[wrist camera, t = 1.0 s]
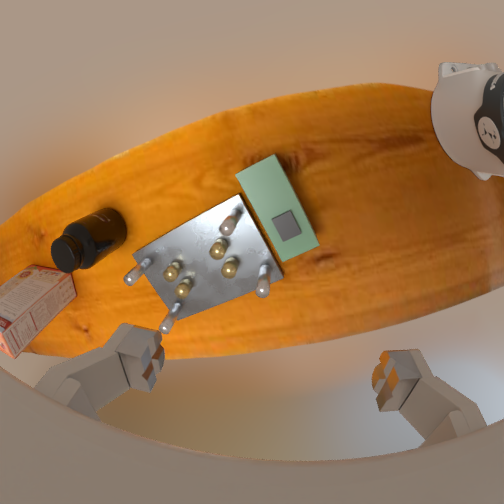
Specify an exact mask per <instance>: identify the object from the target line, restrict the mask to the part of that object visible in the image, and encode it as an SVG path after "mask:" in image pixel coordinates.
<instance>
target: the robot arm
mask: <svg viewBox="0 0 504 504" xmlns="http://www.w3.org/2000/svg"><path fill="white" fill-rule="evenodd" d="M451 69H452V70H453V71H452V70H451ZM438 72H439V80H438V83H437V86H436V88H435V90H434V92H433V96H432V101H431V115H432V122H433V126H434V130H435V133H436V135H437V138H438V140H439V142H440V144H441V146H442V147H443V149H444V150H445V152H446V153H447V154H448V156H449V157H450V158H451V159H452V160H453V161H455V162H456V163H457V164H459V165H461V166H463V167H466V168H468V169H470V170H472V172H473V173H474V174H475V175H476V176H477V177H478V178H479V179H480V180H487V179H489V178H490V177H491V176H492V175H496V176H502V177H504V73H503V72H502V71H501V70H500V69H499V68H498V66H497V64H496V63H487V64H485V65H484V64H481V65H475V64H466V63H451V62H444V63H441V64H440V65H439V71H438ZM161 341H162V335H161V332H160V331H158V330H154V329H149V328H145V327H141V326H136V325H131V324H127V323H122V324H121V325H120V326H119V327H118V329H117V330H116V331H115V332H114V334H113V335H112V336H111V338H110V339H109V340H108V341H107V343H106V344H105V345H104V347H103V348H100V347H98V348H96V349H94V350H91V351H89V352H87V353H84V354H82V355H80V356H77V357H75V358H72V359H70V360H68V361H65V362H63V363H60V364H58V365H56V366H53V367H51V368H50V369H49V370H48V371H47V372H46V374H45V375H44V376H43V377H42V379H41V380H40V381H39V382H38V384H37V385H36V386H35V388H32V387H31V386H29V385H27V384H26V383H24V382H23V381H21V380H19V379H18V378H16V377H15V376H13V375H12V374H10V373H9V372H7V371H6V370H5V369H3V368H2V367H0V504H504V419H502V420H500V421H498V422H495V423H493V424H491V425H488V426H487V425H486V422H485V420H484V418H483V416H482V414H481V412H480V410H479V408H478V406H477V404H476V403H474V402H473V401H471V400H470V399H469V398H467V397H466V396H464V395H463V394H461V393H460V392H458V391H457V390H456V389H454V388H453V387H451V386H450V385H448V384H447V383H446V382H444V381H443V380H441V379H440V378H438V377H437V376H436V377H434V376H433V374H432V372H431V370H430V368H429V366H428V365H427V363H426V361H425V359H424V357H423V355H422V354H421V351H420V350H418V349H410V350H393V351H384V352H383V353H382V354H381V356H380V358H379V359H380V362H381V363H380V364H379V365H377V366H376V367H375V369H374V371H373V374H372V387H373V390H374V391H375V392H376V393H378V396H377V398H376V401H377V404H378V408H379V411H380V412H386V411H398V410H399V412H400V413H401V414H402V415H403V417H404V418H405V419H406V420H407V421H408V422H409V423H410V424H411V425H412V426H413V427H414V428H415V429H416V430H417V431H418V432H419V434H420V435H421V436H422V437H423V438H424V439H425V441H424V442H423V443H422V444H421V445H420V446H419V447H418V448H416V449H411V450H407V451H402V452H397V453H391V454H385V455H379V456H372V457H364V458H354V459H342V460H327V461H326V460H325V461H282V460H280V461H279V460H264V459H252V458H242V457H234V456H226V455H220V454H213V453H208V452H202V451H197V450H192V449H188V448H183V447H179V446H175V445H171V444H167V443H163V442H159V441H156V440H152V439H149V438H145V437H142V436H139V435H136V434H133V433H130V432H127V431H124V430H121V429H118V428H116V427H113V426H110V425H108V424H105V423H103V422H101V420H100V418H99V417H98V415H97V413H96V411H97V410H99V409H100V408H102V407H103V406H105V405H106V404H108V403H109V402H111V401H112V400H114V399H115V398H117V397H118V396H120V395H121V394H123V393H124V392H126V391H127V390H128V389H130V387H131V388H134V389H138V390H142V391H146V392H151V390H152V388H153V386H154V384H155V382H156V376H155V374H157V373H159V372H161V369H162V367H163V364H164V359H165V353H164V348H163V347H162V346H161V345H160V343H161Z"/></svg>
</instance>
